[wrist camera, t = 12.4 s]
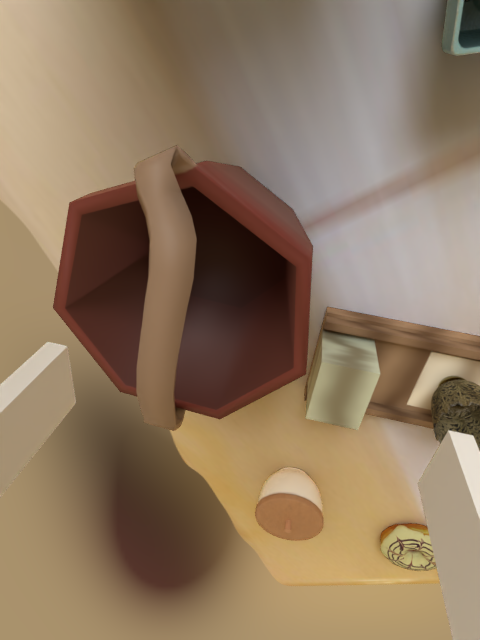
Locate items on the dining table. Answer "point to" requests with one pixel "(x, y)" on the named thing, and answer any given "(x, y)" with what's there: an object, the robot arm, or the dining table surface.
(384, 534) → the decorated donut
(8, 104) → the dining table surface
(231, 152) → the dining table surface
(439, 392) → the cup
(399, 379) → the brown wooden tray
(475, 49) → the flower pot
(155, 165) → the bucket
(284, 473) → the lidded jar
